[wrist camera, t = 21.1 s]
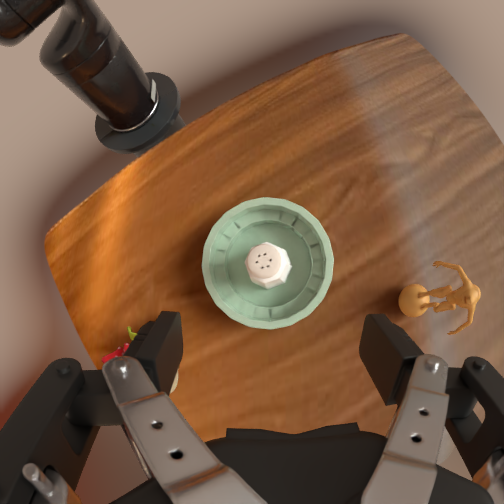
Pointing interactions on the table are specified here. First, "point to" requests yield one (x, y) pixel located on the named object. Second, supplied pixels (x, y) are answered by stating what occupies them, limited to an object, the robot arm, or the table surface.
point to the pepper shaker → (268, 265)
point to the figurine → (417, 297)
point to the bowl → (277, 233)
